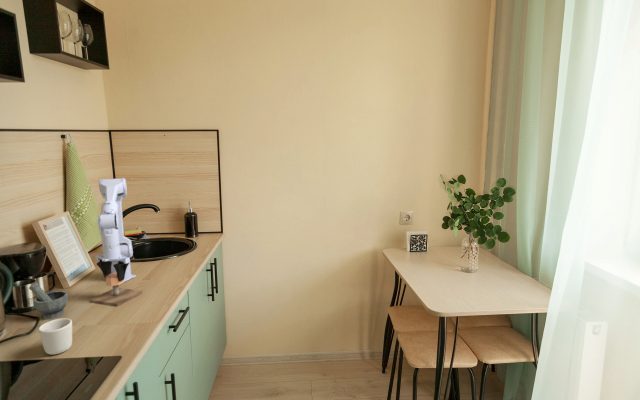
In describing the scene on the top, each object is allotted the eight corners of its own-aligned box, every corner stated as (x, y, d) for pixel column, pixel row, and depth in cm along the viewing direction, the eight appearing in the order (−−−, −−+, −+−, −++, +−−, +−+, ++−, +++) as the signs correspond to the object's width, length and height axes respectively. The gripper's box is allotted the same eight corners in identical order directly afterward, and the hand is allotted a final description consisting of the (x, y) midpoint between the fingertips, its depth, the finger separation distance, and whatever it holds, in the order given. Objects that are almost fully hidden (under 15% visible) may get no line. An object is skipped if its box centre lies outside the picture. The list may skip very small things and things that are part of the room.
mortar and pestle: (75, 307, 136) (71, 276, 134) (61, 320, 127) (56, 287, 125) (42, 310, 135) (37, 278, 133) (25, 322, 125) (20, 289, 123)
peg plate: (90, 302, 141) (88, 289, 140) (116, 289, 152) (115, 277, 151) (117, 306, 137) (116, 293, 136) (142, 293, 148) (140, 281, 147)
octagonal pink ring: (103, 284, 142) (102, 277, 141) (115, 279, 147) (114, 272, 147) (115, 286, 140) (114, 279, 139) (127, 280, 145) (126, 273, 145)
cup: (58, 338, 116) (55, 314, 114) (85, 336, 116) (82, 312, 115) (35, 358, 105) (31, 332, 104) (65, 356, 106) (61, 330, 104)
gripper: (87, 246, 139) (91, 281, 142) (117, 249, 135) (121, 285, 137) (103, 241, 146) (106, 274, 148) (132, 244, 142) (136, 278, 144)
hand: (114, 279), depth 143 cm, fingers closed on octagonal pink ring, 6 cm apart
